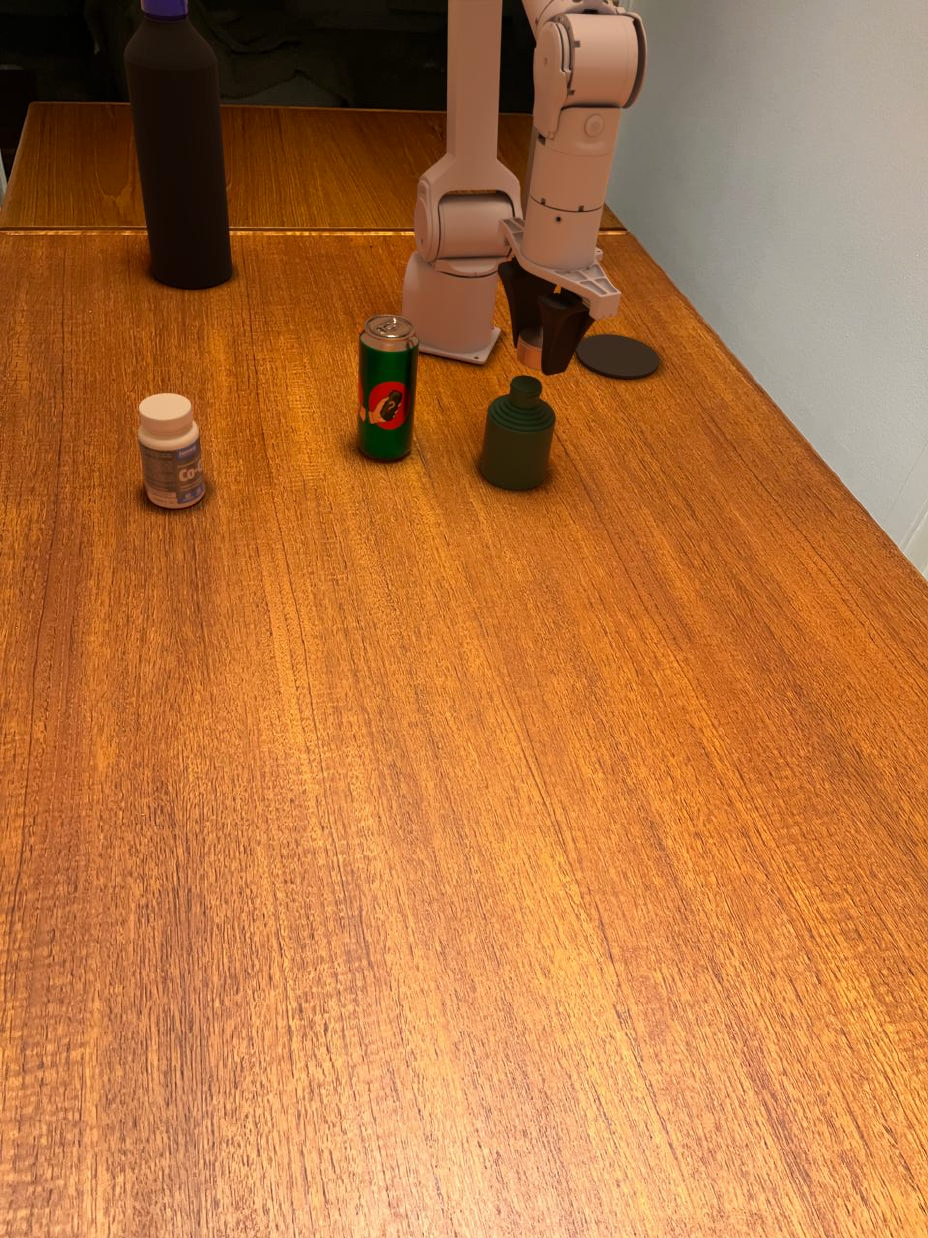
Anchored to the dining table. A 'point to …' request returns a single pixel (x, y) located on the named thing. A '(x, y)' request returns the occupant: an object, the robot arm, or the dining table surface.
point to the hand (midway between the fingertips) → (539, 359)
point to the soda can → (387, 386)
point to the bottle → (179, 147)
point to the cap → (530, 347)
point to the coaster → (617, 356)
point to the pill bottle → (170, 451)
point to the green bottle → (518, 436)
